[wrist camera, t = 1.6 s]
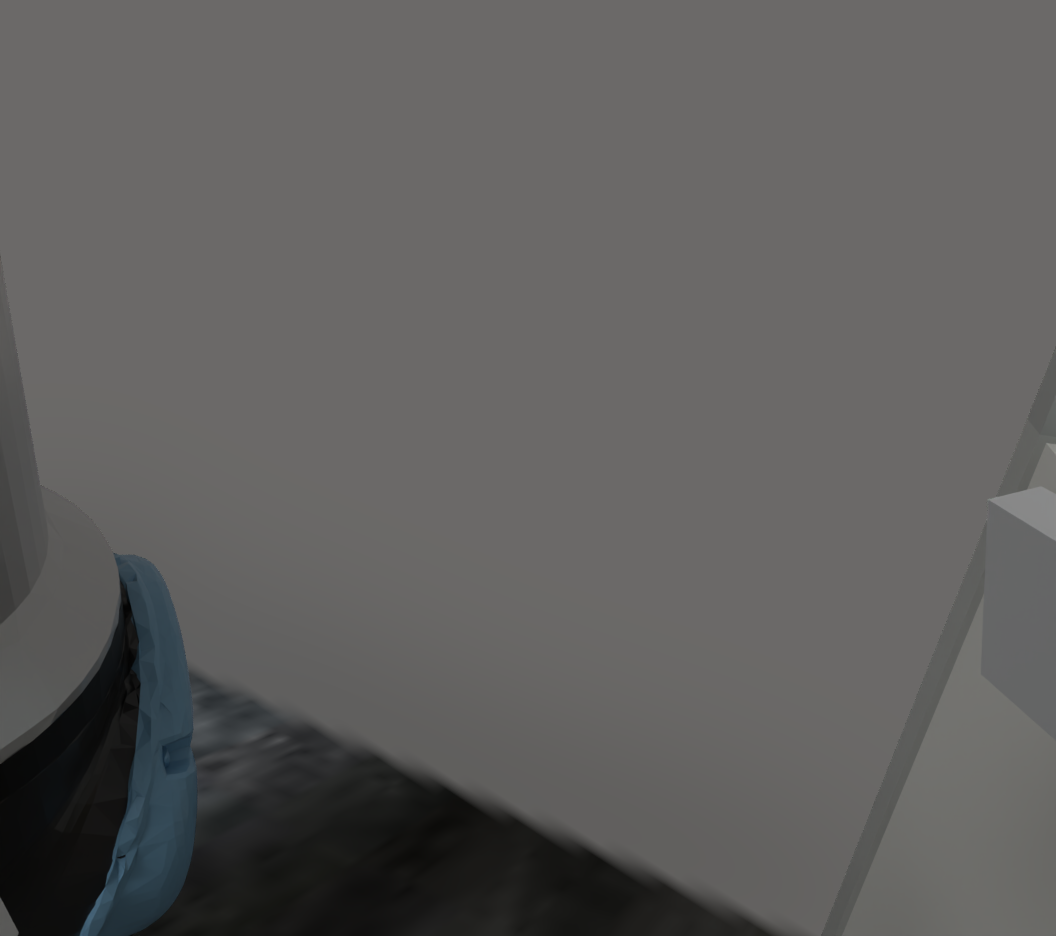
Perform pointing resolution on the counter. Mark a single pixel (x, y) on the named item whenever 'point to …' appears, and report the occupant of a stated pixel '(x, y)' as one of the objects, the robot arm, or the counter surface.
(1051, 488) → the tall gray box
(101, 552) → the robot arm
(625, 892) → the counter surface
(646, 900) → the counter surface
